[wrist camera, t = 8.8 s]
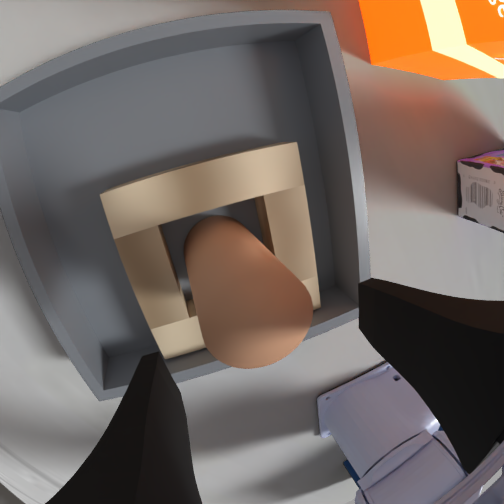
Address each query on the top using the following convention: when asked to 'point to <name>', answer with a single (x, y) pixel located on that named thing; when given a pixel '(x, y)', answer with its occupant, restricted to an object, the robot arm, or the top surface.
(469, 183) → the candy box
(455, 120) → the top surface
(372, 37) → the orange juice
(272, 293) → the peg
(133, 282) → the plate
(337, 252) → the tray
